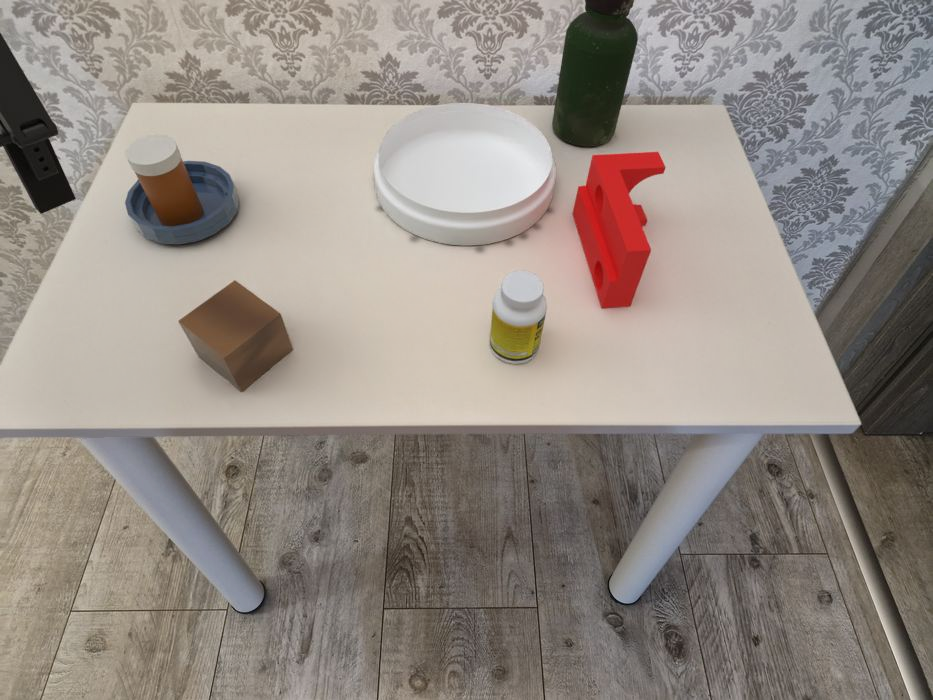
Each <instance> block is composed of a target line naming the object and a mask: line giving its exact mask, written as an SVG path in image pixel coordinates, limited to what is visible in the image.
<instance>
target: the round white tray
mask: <svg viewBox="0 0 933 700" xmlns="http://www.w3.org/2000/svg"><path fill="white" fill-rule="evenodd" d="M373 177H374V187H375V193H376V196H377V200H378V202H379V204H380V206H381V208H382V210H383V211H384V212H385V213H386V215H387V216H388V218H390V219H391V221H393V223H395V224H397V225H398V226H399V227H400V228H402V229H404V230H405V231H406V232H409V233H411V234H412V235H414V236H417V237H419V238H421V239H424V240H427V241H431V242H435V243H440V244H443V245H452V246H465V247H466V246H483V245H489V244H495V243H499V242H502V241H505V240H508V239H511V238H514V237H516V236H518V235H520V234H522V233H524V232H526V231H527V230H528V229H530V228H532V227H533V226H534V225H535V224H536V223H538V222H539V220H540V219H542V217H543V216H544V215H545V213H546V212H547V210H548V209H549V207H550V205H551V202H552V199H553V195H554V191H555V190H554V189H555V185H556V184H555V183H556V178H557V168H556V162H555V159H554V156H553V153H552V149H551V146H550V144H549V142H548V140H547V138H546V137H545V135H544V134H543V132H541V131H540V129H539V128H538V127H536V126H535V124H533V123H532V122H531V121H529V120H528V119H526V118H524V117H522V116H521V115H518V114H517V113H514V112H512V111H510V110H507V109H504V108H501V107H497V106H493V105H489V104H483V103H475V102H451V103H443V104H442V103H441V104H436V105H433V106H428V107H425V108H421V109H419V110H416V111H414V112H412V113H410V114H408V115H406V116H404V117H403V118H401V119H400V120H398V121H397V122H396V123H395V124H393V125H392V126H391V127H390V128H389V129H388V130H387V131H386V133H385V134H384V136H383V137H382V139H381V141H380V144H379V147H378V150H377V152H376V154H375V158H374V162H373Z"/></svg>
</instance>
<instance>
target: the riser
mask: <svg viewBox="0 0 933 700" xmlns="http://www.w3.org/2000/svg"><path fill="white" fill-rule="evenodd" d="M177 322H178V324H179V325H180V327H181V329H182V331H183V332H184V334H185V336H186V338H187V340H188V341H189V343H190V344H191V346H192V347H193V350H194V352H195V353H196V354H197V356H198V358H200V360H202V361H203V362H204V363H205V364H207V365H208V366H209V367H210V368H212V369H213V370H214V371H215V372H216V373H218V375H220V376H221V377H222V378H224V379H225V380H226V381H227V382H228V383H230V384H231V385H232V386H234V388H235V389H237V390H238V391H239V392H240V393H243V392H244V391H245V390H246V389H247V388H249V387H250V386H251V385H253V384H254V383H255V382H256V381H257V380H259V379H260V378H261V377H262V376H263V375H265V374H266V373H267V372H268V371H269V370H271V369H272V368H273V367H274V366H275V365H277V363H279V362H280V361H281V360H283V359H284V358H285V357H287V356H288V355H289V354H290V353H291V352H292V351H293V350H294V347H293V344H292V341H291V339H290V335H289V333H288V331H287V327H286V325H285V322H284V319H283V316H282V313H281V312H280V311H278V310H277V309H275V308H274V307H273V306H272V305H270V304H268V302H266V301H264V300H263V299H261V298H260V297H259V296H258V295H256V294H255V293H253V292H252V291H251V290H249V289H248V288H247V287H245V286H244V285H243V284H241V283H240V282H238V281H237V280H236V279H234V280H233V281H231V282H230V283H229V284H227V285H225V287H223V288H222V289H220V290H219V291H218V292H216V293H214V294H213V295H212V296H211V297H209V298H208V299H207V300H205V301H203V302H202V303H201V304H200V305H198V306H197V307H195V308H194V309H193V310H191V311H190V312H189V313H187V314H186V315H184V316H183V317H182V318H180V319H179V320H178V321H177Z"/></svg>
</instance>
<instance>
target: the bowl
mask: <svg viewBox="0 0 933 700" xmlns="http://www.w3.org/2000/svg"><path fill="white" fill-rule="evenodd" d="M183 163H184V165H185V168H186V170H187V172H188V175H189V177H190V179H191V182H192V184H193V186H194V189H195V191H196V193H197V196H198V198H199V200H200V203H201V205H202V208H203V215H202V217H201V219H200V220H197V221H195V222H193V223H190V224H184V225H178V226H163V225H162V224H161V222H160V221H159V219H158V217H157V215H156V213H155V211H154V209H153V207H152V205H151V203H150V201H149V199H148V197H147V195H146V193H145V191H144V189H143V187H142V185H141V183H140V181H139V179H138V178H137V180H136V182H134V184H133V185H132V186H131V187H130V188H129V190H128V191H127V194H126V198H125V201H124V205H125V209H126V212H127V216H128V217H129V219H130V221H131V222H132V224H133V226H134V228H135V229H136V230H137V231H138V232H139V233H140V234H141V235H142V236H143V237H144V238H145V239H147V240H151V241H153V242H155V243H159V244H164V245H184V244H188V243H194V242H200V241H202V240H204V239H207V238H209V237H211V236H213V235H216V234H217V233H218V232H220V231H221V230H222V229H223V228H225V227H226V226H227V225H229V224H230V223H231V221H232V220H233V218H234V217H235V216H236V214H237V212H238V208H239V204H240V203H239V202H240V197H239V195H238V192H237V189H236V186H235V184H234V181H233V180H232V176H231V174H230V173H229V172H227V171H226V170H225V169H224V168H222V167H221V166H220V165H217V164H214V163H211V162H209V161H208V162H207V161H199V160H183Z"/></svg>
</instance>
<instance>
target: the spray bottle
mask: <svg viewBox="0 0 933 700" xmlns="http://www.w3.org/2000/svg"><path fill="white" fill-rule="evenodd" d="M584 2H585V5H584V10H585V11H584V12H581V13H580V14H579V15H578V16H576V17H575V18H573V20H572V21H571V22H570V23H569V24H568V26H567V28H566V31H565V36H564V37H565V38H564V44H563V50H562V57H561V62H560V63H561V64H560V69H559V77H558V82H557V83H558V84H557V88H556V89H557V90H556V97H555V103H554V109H553V114H552V123H551V124H552V125H551V126H552V130H553V133H554V134H556V135H557V136H558V137H559V138H560V139H561V140H563V142H566V143H569V144H572V145H574V146H578V147H596V146H599V145H602V144H604V143H605V144H606V143H607V142H609V141H610V140H611V139H612V138H613V137H614V135H615V133H616V129H617V125H618V121H619V117H620V113H621V109H622V105H623V103H624V102H623V101H624V97H625V95H626V94H625V93H626V89H627V85H628V81H629V77H630V73H631V69H632V65H633V61H634V58H635V54H636V50H637V46H638V41H639V39H638V31H637V29H636V26H635V25H634V23H633V21H632V20H631V19H629V18H628V16H629V15H630V12H631V9H632V8H633V6H634V3H635V0H584Z"/></svg>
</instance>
